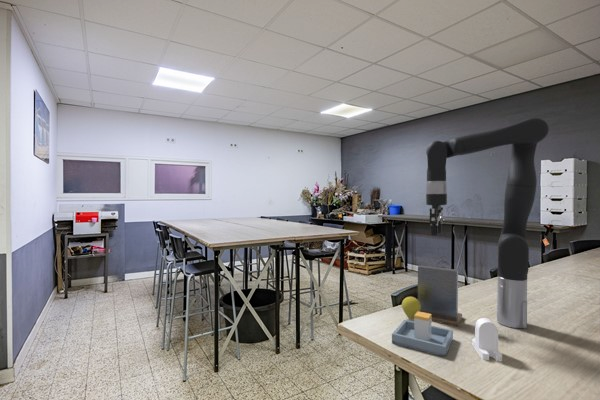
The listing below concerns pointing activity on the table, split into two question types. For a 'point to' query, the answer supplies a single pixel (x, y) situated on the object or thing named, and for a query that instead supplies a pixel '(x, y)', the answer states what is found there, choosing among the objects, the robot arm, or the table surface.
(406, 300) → the light bulb
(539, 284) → the table surface
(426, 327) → the cartridge
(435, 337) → the tray
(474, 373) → the table surface
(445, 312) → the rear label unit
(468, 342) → the table surface
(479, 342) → the cable organizer
